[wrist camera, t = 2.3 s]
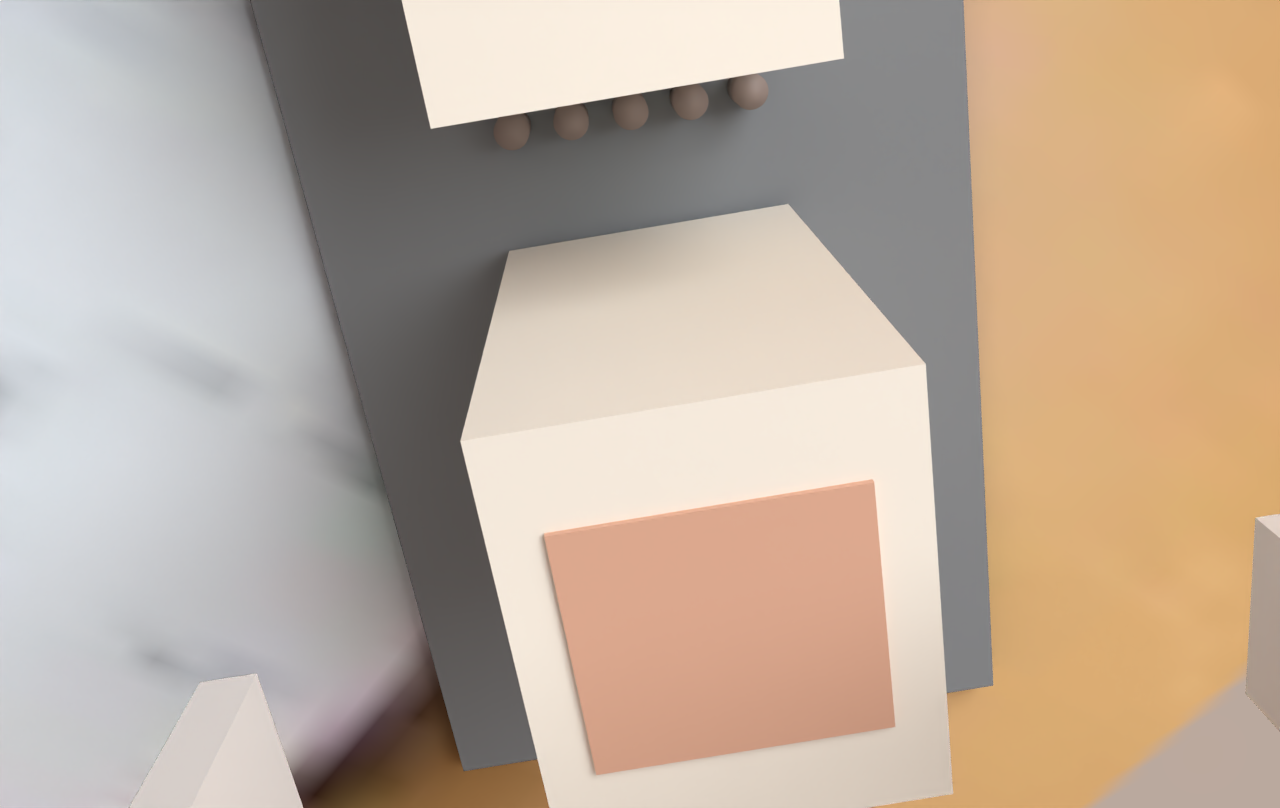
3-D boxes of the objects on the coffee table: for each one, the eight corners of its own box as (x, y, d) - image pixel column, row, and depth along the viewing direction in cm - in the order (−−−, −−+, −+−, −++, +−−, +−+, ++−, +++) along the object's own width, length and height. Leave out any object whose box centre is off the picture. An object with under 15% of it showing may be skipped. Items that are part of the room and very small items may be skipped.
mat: (465, 755, 29) (463, 771, 29) (90, -618, 18) (74, -636, 18) (985, 671, 29) (993, 685, 28) (918, -767, 18) (929, -791, 18)
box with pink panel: (568, 536, 26) (561, 861, 16) (509, 251, 23) (460, 444, 14) (819, 495, 26) (955, 799, 16) (787, 203, 23) (928, 366, 14)
